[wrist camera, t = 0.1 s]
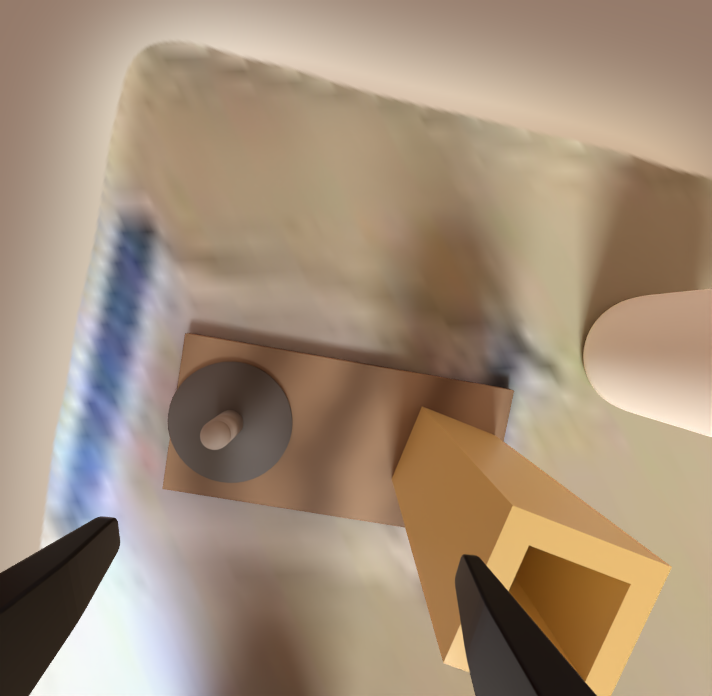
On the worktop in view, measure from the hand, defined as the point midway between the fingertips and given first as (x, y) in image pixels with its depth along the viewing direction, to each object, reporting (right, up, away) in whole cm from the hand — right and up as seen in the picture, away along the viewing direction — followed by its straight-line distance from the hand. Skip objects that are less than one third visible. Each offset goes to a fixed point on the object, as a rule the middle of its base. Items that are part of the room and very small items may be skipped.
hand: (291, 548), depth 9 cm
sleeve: (+8, -3, +15) cm, 17 cm away
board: (0, -1, +15) cm, 16 cm away
